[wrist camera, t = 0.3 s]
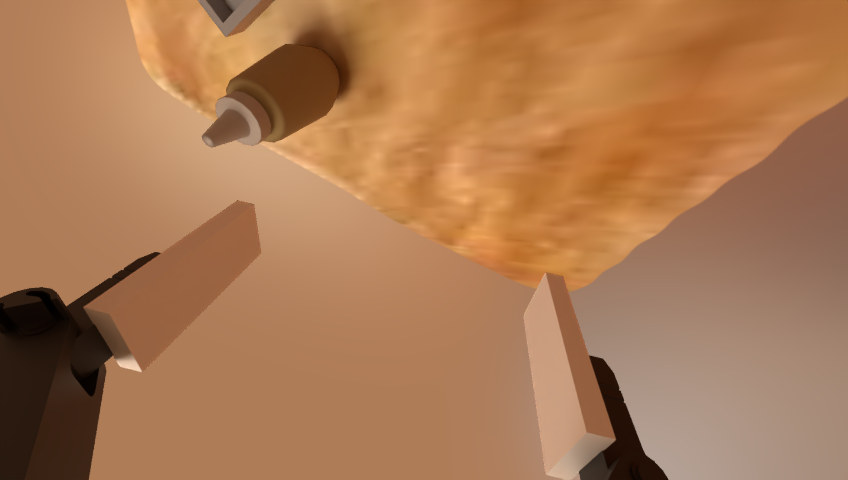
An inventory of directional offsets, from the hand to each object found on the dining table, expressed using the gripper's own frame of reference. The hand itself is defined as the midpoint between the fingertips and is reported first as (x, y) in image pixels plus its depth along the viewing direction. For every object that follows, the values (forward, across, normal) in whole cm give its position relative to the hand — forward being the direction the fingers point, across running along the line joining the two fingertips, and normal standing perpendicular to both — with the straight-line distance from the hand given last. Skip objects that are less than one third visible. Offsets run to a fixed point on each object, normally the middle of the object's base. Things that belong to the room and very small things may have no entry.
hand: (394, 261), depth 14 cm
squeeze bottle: (+30, -17, +1) cm, 35 cm away
